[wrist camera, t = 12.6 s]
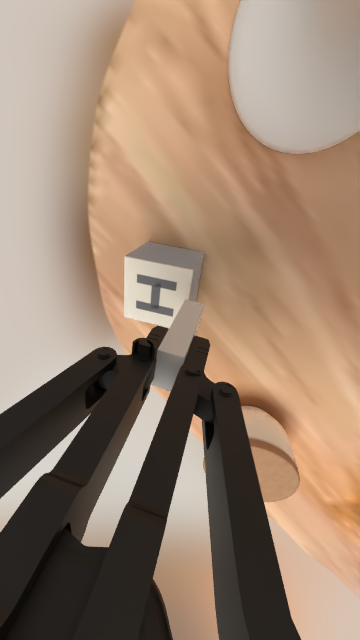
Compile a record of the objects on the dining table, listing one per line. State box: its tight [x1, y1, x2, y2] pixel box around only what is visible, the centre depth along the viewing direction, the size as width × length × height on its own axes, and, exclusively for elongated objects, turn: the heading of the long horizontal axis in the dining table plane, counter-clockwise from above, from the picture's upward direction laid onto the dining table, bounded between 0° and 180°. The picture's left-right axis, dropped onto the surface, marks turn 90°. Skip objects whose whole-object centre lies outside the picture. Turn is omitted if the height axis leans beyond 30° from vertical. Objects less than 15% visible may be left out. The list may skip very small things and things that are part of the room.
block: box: [124, 242, 204, 328], centre depth 25 cm, size 6×6×6 cm
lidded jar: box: [203, 406, 300, 502], centre depth 31 cm, size 11×11×9 cm
